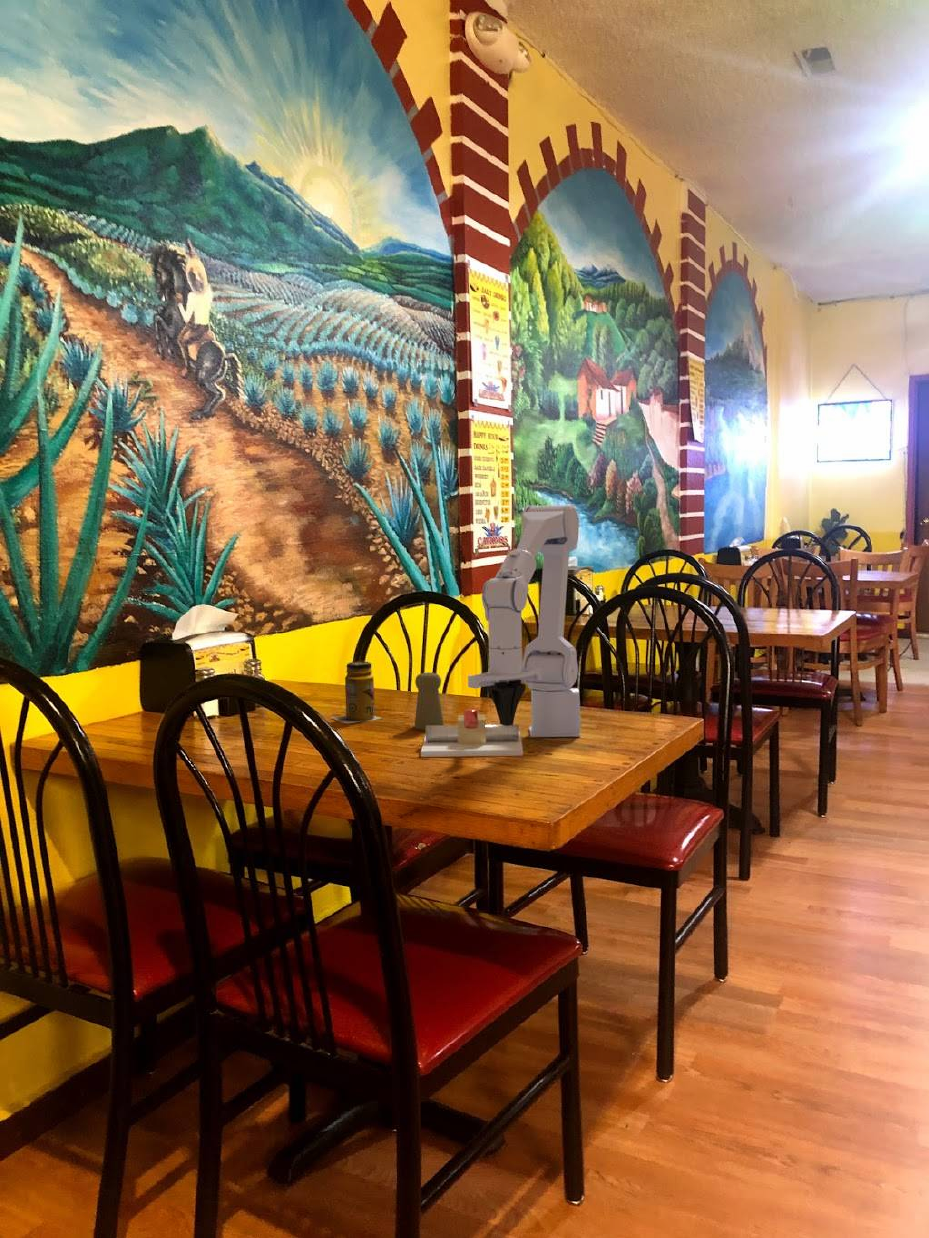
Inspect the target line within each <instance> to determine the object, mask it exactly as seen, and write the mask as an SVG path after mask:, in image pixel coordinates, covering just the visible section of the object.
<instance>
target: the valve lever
mask: <svg viewBox="0 0 929 1238" xmlns="http://www.w3.org/2000/svg"><path fill="white" fill-rule="evenodd" d="M463 715H464V728H466V729H475V728H478V715H479V711H478V709H476V708H470V709H469V708H467V709H464V710H463Z"/></svg>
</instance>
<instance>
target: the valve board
mask: <svg viewBox="0 0 929 1238" xmlns="http://www.w3.org/2000/svg"><path fill="white" fill-rule="evenodd" d="M424 735H425V736H424V739H423V742H422V746H421V750H420V757H421V758H428V757H429V758H430V757H431V758H437V757H439V758H440V757H441V758H442V757H445V758H446V757H447V758H449V757H506V756H507V757H509V756H511V757H513V756H516V757H517V756H518V757H519V756H523V755H524V749H523V743H522V737H521V732H520V731H519V741H486V744H458V741H457V742H426V734H424Z"/></svg>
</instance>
